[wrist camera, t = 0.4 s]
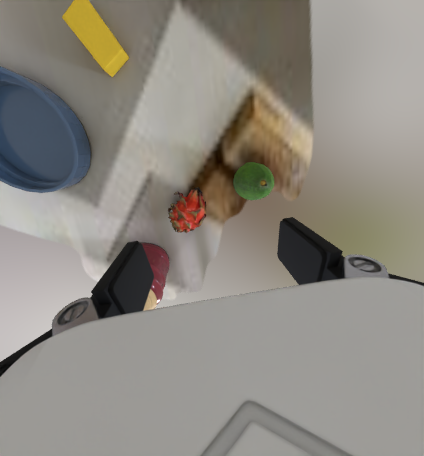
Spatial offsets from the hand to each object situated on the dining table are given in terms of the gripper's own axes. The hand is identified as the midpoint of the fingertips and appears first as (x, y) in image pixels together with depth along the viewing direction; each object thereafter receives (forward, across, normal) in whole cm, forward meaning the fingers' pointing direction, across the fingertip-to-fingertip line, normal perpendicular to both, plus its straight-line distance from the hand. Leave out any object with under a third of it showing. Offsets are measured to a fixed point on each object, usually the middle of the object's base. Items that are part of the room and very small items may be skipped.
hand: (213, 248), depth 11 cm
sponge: (+30, +13, -24) cm, 40 cm away
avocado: (+30, -11, +2) cm, 32 cm away
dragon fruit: (+30, +4, +6) cm, 31 cm away
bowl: (+30, +31, -12) cm, 45 cm away
